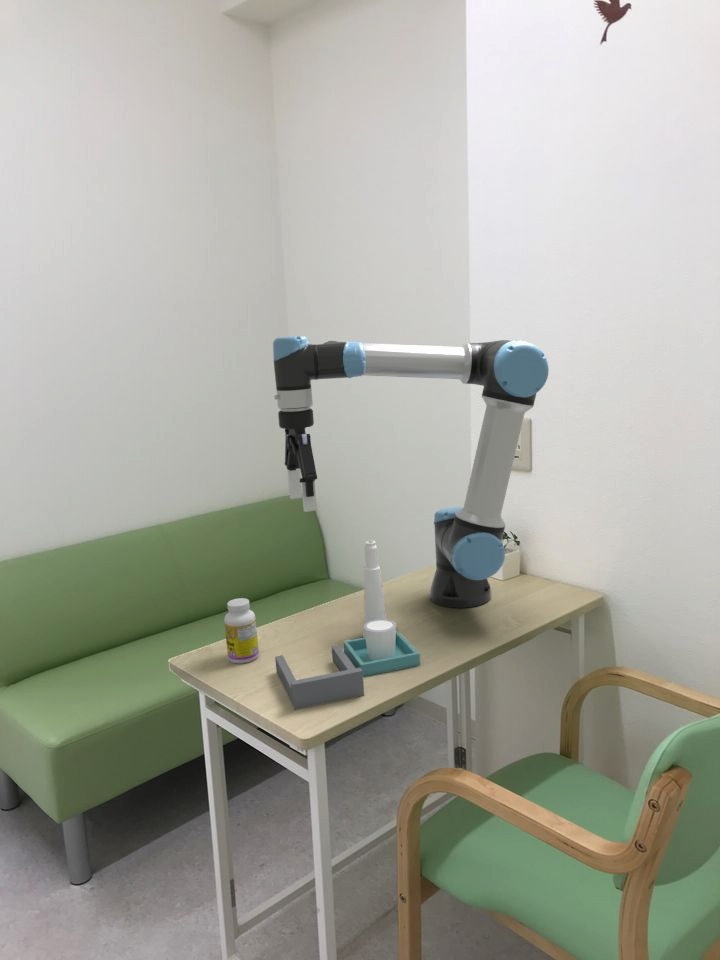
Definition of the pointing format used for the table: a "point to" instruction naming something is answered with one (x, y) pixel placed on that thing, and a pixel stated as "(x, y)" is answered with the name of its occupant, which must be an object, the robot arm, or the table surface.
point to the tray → (360, 659)
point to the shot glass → (380, 639)
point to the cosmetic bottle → (372, 586)
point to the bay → (322, 682)
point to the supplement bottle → (241, 632)
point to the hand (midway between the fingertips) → (302, 504)
